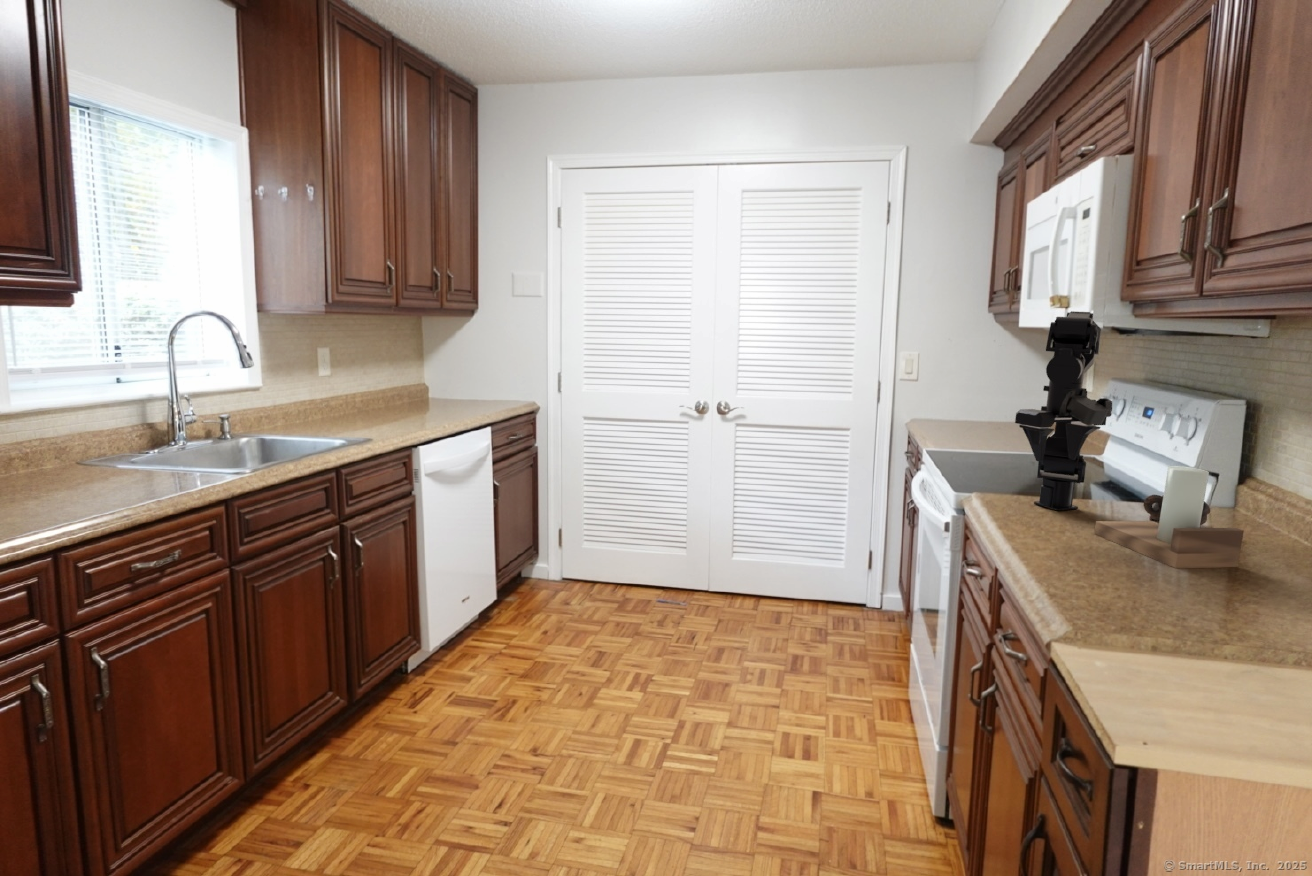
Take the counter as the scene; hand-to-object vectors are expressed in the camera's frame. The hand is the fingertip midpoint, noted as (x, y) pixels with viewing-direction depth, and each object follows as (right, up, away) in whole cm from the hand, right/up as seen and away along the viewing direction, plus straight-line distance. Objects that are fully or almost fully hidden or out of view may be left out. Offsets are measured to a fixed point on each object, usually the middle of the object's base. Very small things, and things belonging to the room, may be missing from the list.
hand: (1055, 460), depth 158 cm
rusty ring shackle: (+27, -14, +6) cm, 31 cm away
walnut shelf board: (+13, -16, -13) cm, 24 cm away
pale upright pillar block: (+13, -14, -16) cm, 25 cm away
